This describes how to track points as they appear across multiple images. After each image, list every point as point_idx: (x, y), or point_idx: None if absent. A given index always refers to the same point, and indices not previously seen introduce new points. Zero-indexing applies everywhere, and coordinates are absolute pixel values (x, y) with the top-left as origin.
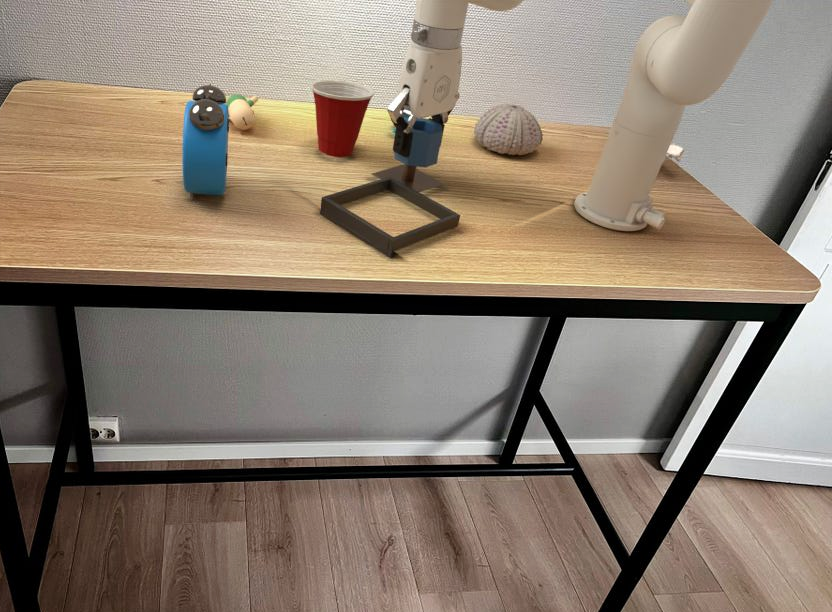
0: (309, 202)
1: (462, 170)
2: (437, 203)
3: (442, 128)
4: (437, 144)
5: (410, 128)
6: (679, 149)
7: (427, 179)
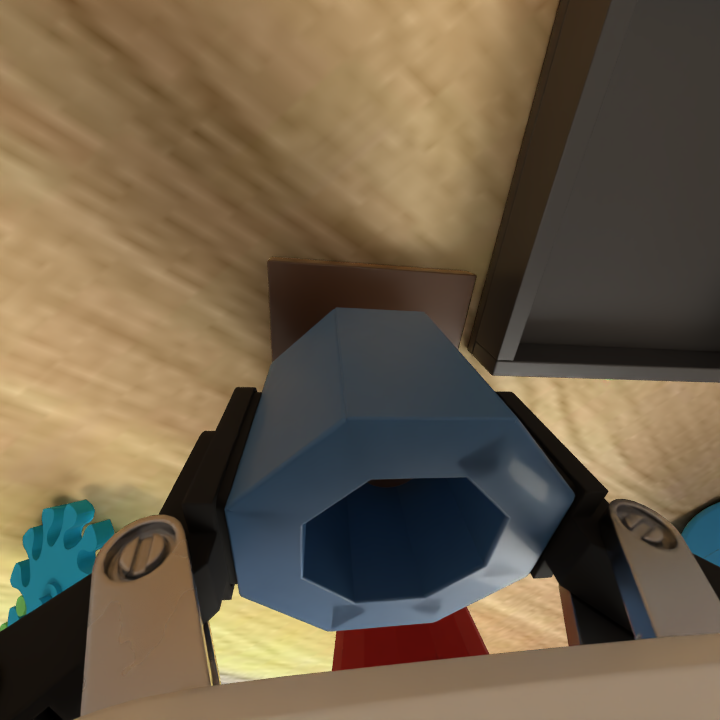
0: (659, 409)
1: (59, 318)
2: (602, 64)
3: (217, 476)
4: (374, 359)
5: (628, 535)
6: None
7: (306, 322)
